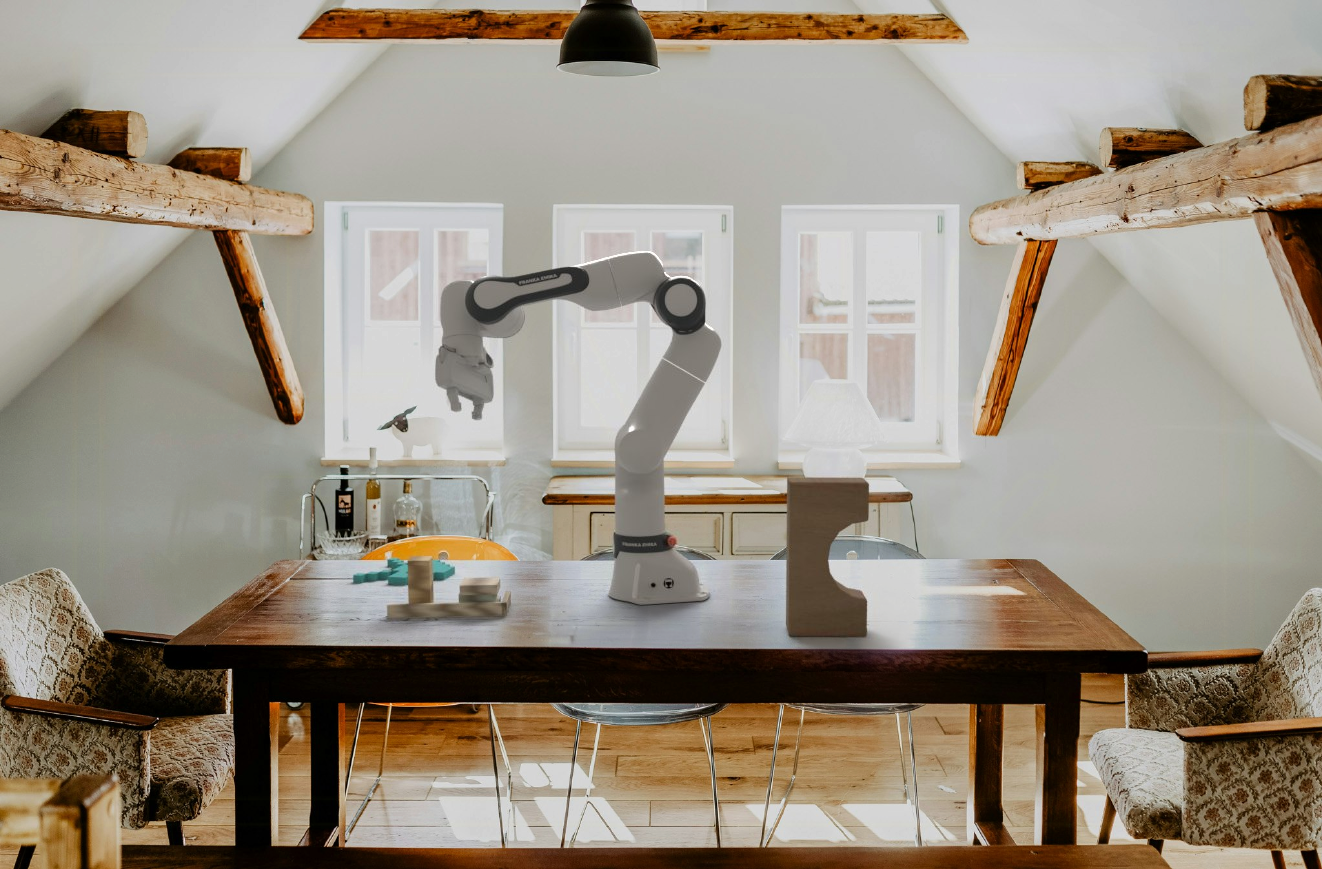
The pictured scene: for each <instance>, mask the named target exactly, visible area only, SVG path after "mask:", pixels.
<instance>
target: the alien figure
mask: <svg viewBox="0 0 1322 869" xmlns="http://www.w3.org/2000/svg"><path fill="white" fill-rule="evenodd" d="M386 561H387V567H388V568H389V567H391V569H392V570H391V569H383V570H380V571H369V572H366V573H364V572H363V573H360V572H356V573H354V574H353V575H352V582H353V583H354V584H356V583H357V584H358V583H359V584H360V583H361V584H363V583H364V582H365V583H366V582H376V581H379V580H387V584H388V585H395V586H396V585H398V586H408V562H406V561H405V560H401V559H400V558H399V557H390V558H388V559H387V560H386ZM455 574H456V567H455V566H451V565H450V563H448V564H447V563H446V562H445V561H441V559H433V581H435V580H440V581H441V580H443V581H445V580H446V579H448V578H450V577H452V576H453V575H455ZM449 576H450V577H449Z"/></svg>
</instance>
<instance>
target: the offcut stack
mask: <svg viewBox="0 0 1322 869" xmlns="http://www.w3.org/2000/svg"><path fill="white" fill-rule="evenodd" d="M500 588H501V577H500V576H499V577H496V576H495V577H463V578H462V580H461V583H460V584H459V594H458V603H463V602H502V601H501V600H502V598H501V596H502V595H498V594H499V592H500Z"/></svg>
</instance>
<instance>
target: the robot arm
mask: <svg viewBox="0 0 1322 869" xmlns="http://www.w3.org/2000/svg"><path fill="white" fill-rule="evenodd" d="M440 295H441V296H440V304H439V305H440V308H439V310H440V312H439V315H440V316H439V317H440V326H441V328H442V337H441V345H440V346H439V348H438V354H437V355H436V357H435V365H434V366H435V370H434V371H435V372H434V377H435V378H434V379H435V380H434V381H435V383H436V386H437V387H439V388H441V389H443V390H446V395H447V398H448V401H449V403H450V411H452V412H454V413H459V412H461V411H462V403H461V402H460V399H459V396H460V397H462V398H464V399H466V400H469V401H471V402H472V405H473V411H471V419H472V420H475V421H481V420H482V419H483V411H484V408H485V407H484V406H485V404H488V403H492V402H493V399H494V393H495V392H494V389H495V388H494V375H493V371H492V370H491V369H493V368H494V359H493V358H492V357H491V356H490V354H489V353H488V351H487V350H486V347H485V346H484V340H483V339H484V338H490V339H491V338H493V339H508V338H511V337H513V336H515V335H516V334H518V333H519V332H520V331H521V329H522V328H523V326H524V323H525V318H526V317H525V311H524V308H523V307H524V306H525V307H526V306H530V305H534V304H540V303H545V302H549V301H554V300H561V301H563V300H564V301H568V302H571V303H574V304H577V305H578V306H580V307H582V308H584V309H586V310H588V311H592V312H599V311H607V310H614V309H617V308H620V307H624V306H627V305H630V304H636V303H640V302H644V303H649V305H650V306H651V308H652V309H653V311H654V312H655V314H656V316H657V318H659V320H660V321H661V322H662V323H663V324H664V325H665V326H667V327H670V328H671V332H672V337H671V341H670V342H669V345H668V347H667V350H666V351H665V352H664V354H663V355H662V358H661V359H660V361H659V363H658V364H657V367H656V368H655V369H654V371H653V373H652V374H651V376H650V378H649V380H648V381H647V383H646V384H645V387H644V389H643V390H642V392H641V394H640V396H639V398H638V400H637V401H636V404H635V405H634V406H633V409H632V411H631V412H630V414H629V416H628V418H627V419H626V421H625V423H624V424H623V425H622V426H621V427H620V428H619V429H618V431H617V433H616V436H615V441H614V457H615V458H614V466H615V467H614V469H615V470H614V477H615V478H614V523H615V525H614V526H615V528H614V530H615V531H614V532H613V537H612V554H613V558H614V561H613V562H614V563H613V569H612V570H613V572H612V577H611V583H610V587H609V590H608V593H607V594H608V596H609V597H610V598H612V599H613V600H618V601H624V602H628V603H629V602H630V603H632V604H636V605H640V606H641V605H656V604H657V605H658V604H669V603H670V604H672V603H686V602H700V601H701V602H702V601H705V600H707V599H709V597H710V591H709V588H708V586H706V585H705V584H704V583H701V582H700V577H699V573H698V569H697V567H696V565H695V564H694V563H693V562H692V561H691V560H689V559H688V558H686V557H685V556H684V555H683V554H681V553H680V552H678V551H677V550H676V549H675V548H674V547H676V545H677V544H678V541H677V540H678V539H677V538H676V537H675V536H674V535H673V534H671V532H667V531H666V530H665V529H666V528H665V527H666V524H665V518H666V517H665V508H666V507H665V504H666V503H665V469H664V468H665V464H664V463H665V457H666V456H667V454H668V452H669V450H670V448H671V446H672V444H673V443H674V440H675V439H676V437H677V435H678V433H679V431H680V429H681V427H682V425H683V423H684V422H685V420H686V417H687V416H688V414H689V412H690V410H691V409H692V407H693V405H694V403H695V402H696V400H697V398H698V396H699V394H700V393H701V391H702V390H703V388H704V386H705V384H706V383H707V381H708V379H709V377H710V375H711V373H712V372H713V369H714V367H715V365H716V362H717V359H718V358H719V354H720V352H721V349H722V340H721V337H720V335H719V333H718V332H717V331H716V330H715V329H714V328H712V327H711V326H710V325H708V324H707V323H706V309H707V302H706V295H705V292H704V289H703V287H702V286H701V285H700V284H699V283H698V281H696V280H695V279H693V278H692V277H689V276H685V275H677V276H676V275H675V276H672V277H671V276H670V275H668V274H667V273H666V270H665V267H664V265H663V262H662V261H661V260H660V258H659V257H658V256H657V255H656V254H655V253H654V252H652V251H650V250H649V251H647V250H645V251H635V252H634V251H632V252H626V253H621V254H615V255H612V256H611V255H610V256H609V257H604V258H601V259H597V260H592V261H589V262H585V263H581V264H576V265H568V266H563V267H561V266H560V267H558V268H557V267H556V268H552V269H551V268H550V269H547V270H541V271H537V272H532V273H526V274H522V275H517V276H499V275H485V276H482V277H479V278H477V279H476V280H475V281H473V280H471V279H469V280H468V279H460V280H454V281H453V282H450V283H449V284H447V285H446V286H444V288H443V290H442V291H441V294H440Z"/></svg>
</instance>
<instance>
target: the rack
mask: <svg viewBox="0 0 1322 869" xmlns="http://www.w3.org/2000/svg"><path fill="white" fill-rule="evenodd" d="M511 594H512V592H511V590H506V591H505V593H504V596H503V599H502V601H501V602H463V603H459V602H434V603H409V602H407V603H387V604H386V616H387V617H386V618H387V619H392V618H393V619H394V618H395V619H399V618H400V619H401V618H403V619H404V618H406V619H407V618H453V617H454V618H455V617H456V618H458V617H459V618H460V617H462V618H463V617H495V616H496V617H508V613H509V610H510V606H511V604H512V598H511V597H512V596H511Z"/></svg>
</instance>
